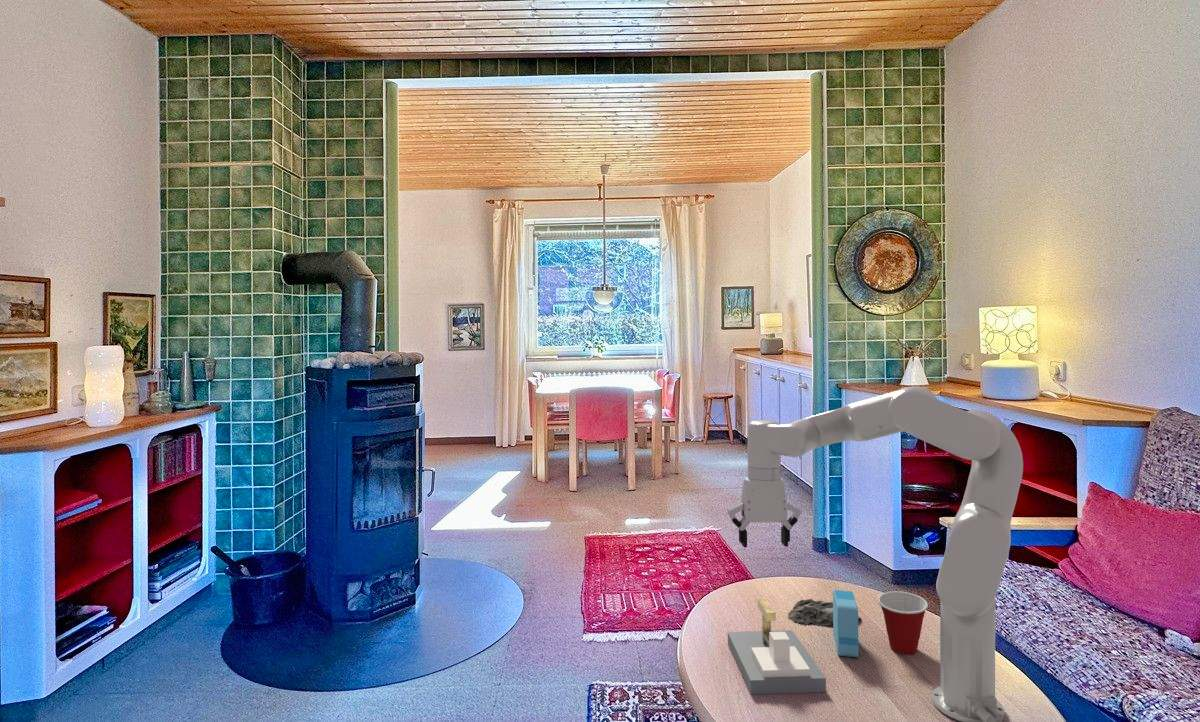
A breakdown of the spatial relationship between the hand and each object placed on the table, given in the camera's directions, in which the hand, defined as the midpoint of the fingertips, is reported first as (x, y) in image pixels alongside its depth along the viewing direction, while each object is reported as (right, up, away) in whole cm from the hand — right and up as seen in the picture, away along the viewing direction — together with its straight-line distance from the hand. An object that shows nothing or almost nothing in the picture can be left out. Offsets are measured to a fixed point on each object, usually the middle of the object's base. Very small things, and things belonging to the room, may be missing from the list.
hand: (764, 545), depth 147 cm
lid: (+1, -24, -9) cm, 25 cm away
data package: (+21, -26, +4) cm, 34 cm away
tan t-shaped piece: (+1, -23, -1) cm, 23 cm away
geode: (+22, -26, +22) cm, 40 cm away
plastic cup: (+34, -26, +2) cm, 43 cm away
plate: (+1, -27, -4) cm, 27 cm away
